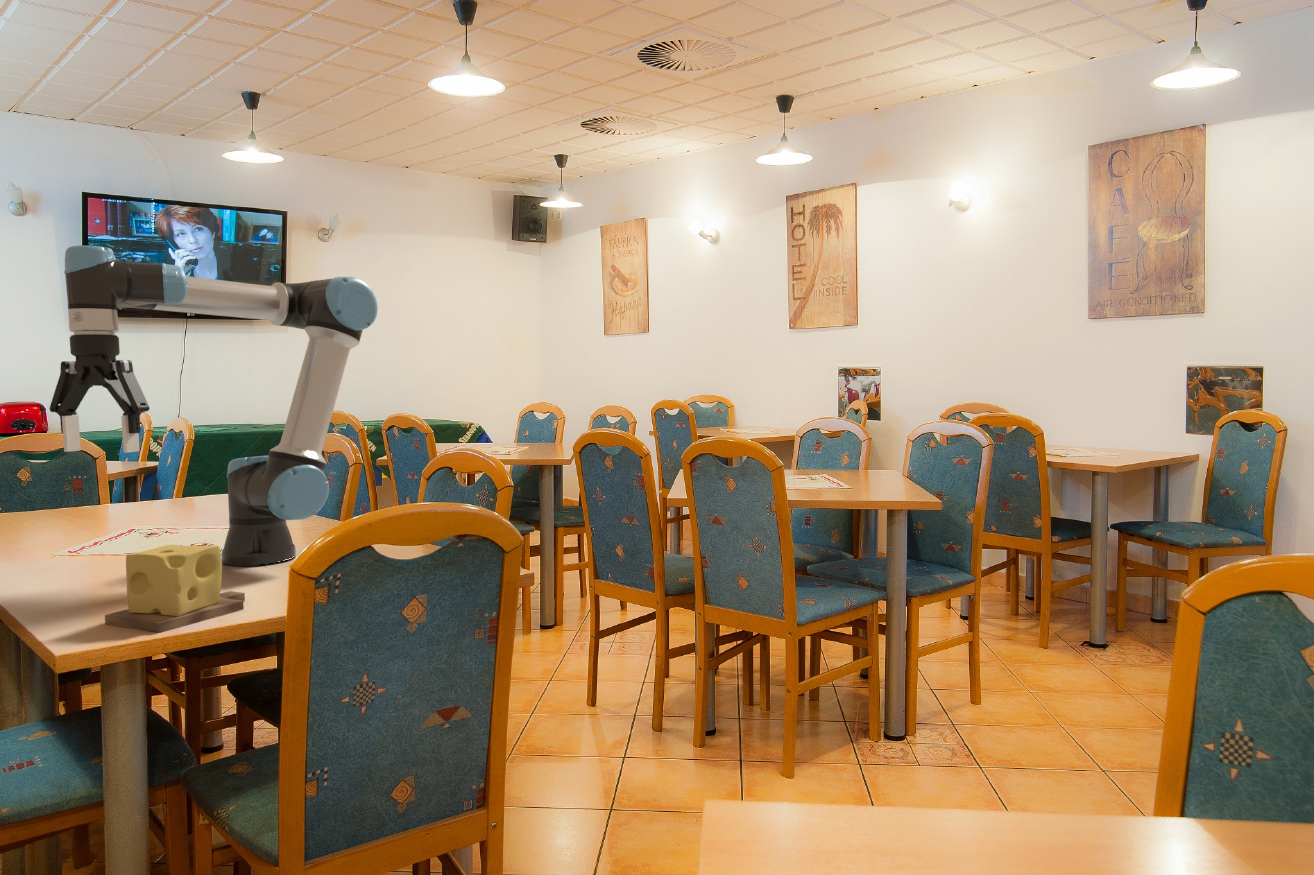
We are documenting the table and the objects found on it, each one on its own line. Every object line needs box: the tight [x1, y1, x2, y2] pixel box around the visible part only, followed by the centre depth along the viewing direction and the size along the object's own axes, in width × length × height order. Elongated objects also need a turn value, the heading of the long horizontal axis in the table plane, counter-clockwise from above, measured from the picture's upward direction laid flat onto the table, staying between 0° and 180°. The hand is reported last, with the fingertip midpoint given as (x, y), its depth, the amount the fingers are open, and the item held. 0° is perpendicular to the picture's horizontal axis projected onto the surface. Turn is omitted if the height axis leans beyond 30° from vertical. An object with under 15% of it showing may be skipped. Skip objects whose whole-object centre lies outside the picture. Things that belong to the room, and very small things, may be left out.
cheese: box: [125, 544, 223, 616], centre depth 150 cm, size 10×11×10 cm
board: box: [104, 590, 246, 633], centre depth 153 cm, size 20×13×2 cm, turn 156°
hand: (101, 451), depth 162 cm, fingers open, 13 cm apart
